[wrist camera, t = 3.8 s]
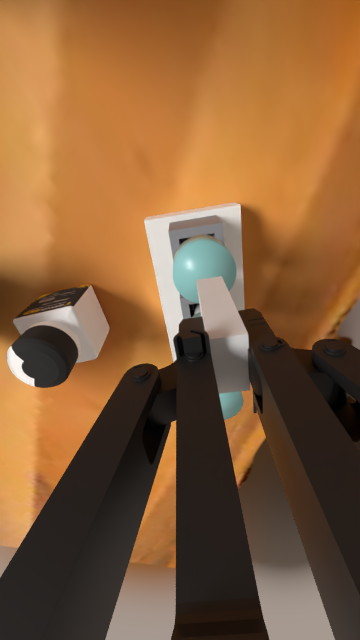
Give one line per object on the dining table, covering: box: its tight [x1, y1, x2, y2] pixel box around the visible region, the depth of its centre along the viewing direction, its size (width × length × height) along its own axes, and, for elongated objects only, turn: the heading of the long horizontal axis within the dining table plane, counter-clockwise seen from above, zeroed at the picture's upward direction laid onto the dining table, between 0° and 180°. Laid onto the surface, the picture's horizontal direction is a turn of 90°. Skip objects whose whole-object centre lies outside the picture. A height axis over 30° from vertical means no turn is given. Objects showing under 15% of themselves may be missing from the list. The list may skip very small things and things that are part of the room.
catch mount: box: [144, 202, 245, 362], centre depth 31 cm, size 10×19×8 cm, turn 9°
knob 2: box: [219, 391, 243, 420], centre depth 28 cm, size 5×5×8 cm
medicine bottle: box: [7, 284, 110, 388], centre depth 30 cm, size 7×7×12 cm
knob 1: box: [173, 235, 237, 303], centre depth 22 cm, size 5×5×8 cm
